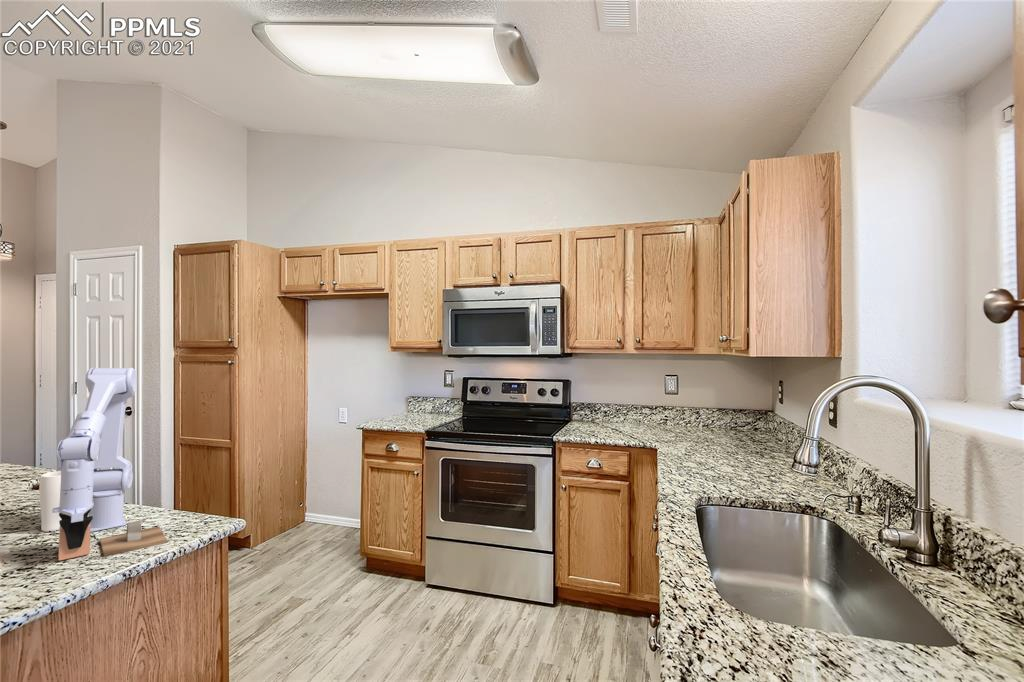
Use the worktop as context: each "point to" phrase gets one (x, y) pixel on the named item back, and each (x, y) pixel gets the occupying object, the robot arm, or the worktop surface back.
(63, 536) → the salmon orange block
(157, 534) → the post board
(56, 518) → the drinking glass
